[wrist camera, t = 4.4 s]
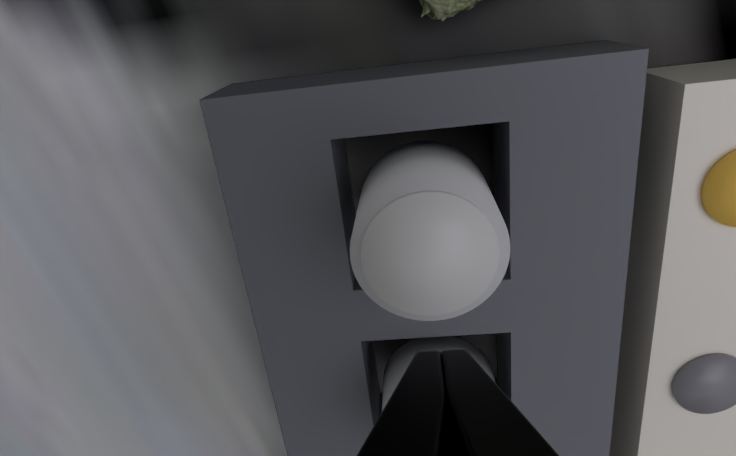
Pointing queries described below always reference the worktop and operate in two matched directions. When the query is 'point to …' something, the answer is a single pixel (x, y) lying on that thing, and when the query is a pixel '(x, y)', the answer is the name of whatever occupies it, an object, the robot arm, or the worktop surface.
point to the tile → (681, 271)
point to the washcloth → (445, 8)
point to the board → (514, 200)
